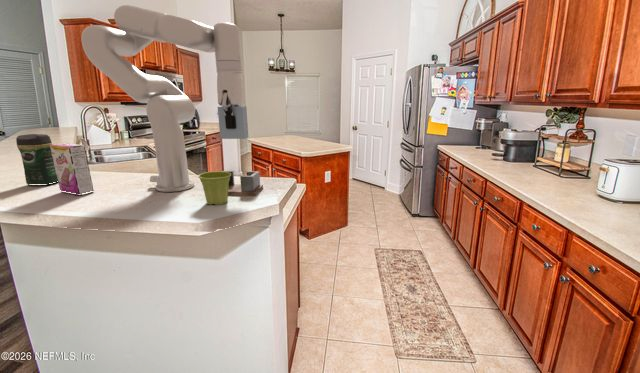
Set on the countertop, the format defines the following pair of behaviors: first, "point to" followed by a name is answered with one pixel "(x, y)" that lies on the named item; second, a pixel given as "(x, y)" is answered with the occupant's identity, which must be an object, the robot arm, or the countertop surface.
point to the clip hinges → (247, 180)
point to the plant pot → (215, 186)
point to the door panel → (241, 124)
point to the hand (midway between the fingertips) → (233, 127)
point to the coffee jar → (37, 158)
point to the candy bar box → (72, 167)
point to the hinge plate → (237, 191)
